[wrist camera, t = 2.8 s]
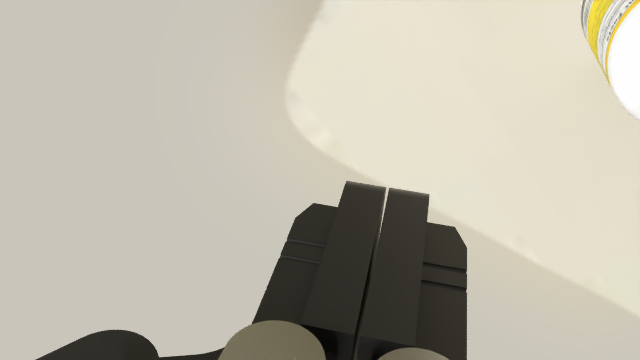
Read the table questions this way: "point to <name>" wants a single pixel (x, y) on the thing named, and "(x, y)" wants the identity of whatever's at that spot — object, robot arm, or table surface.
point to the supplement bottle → (616, 46)
